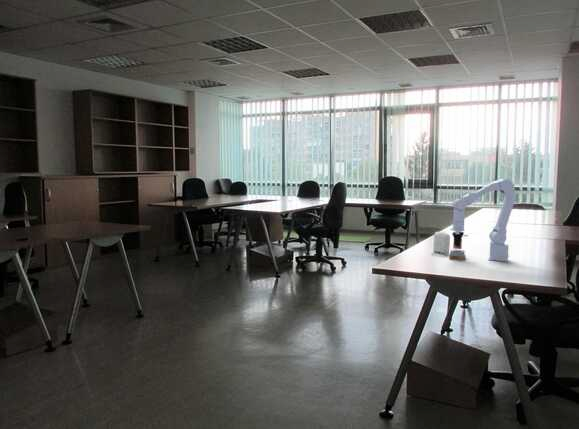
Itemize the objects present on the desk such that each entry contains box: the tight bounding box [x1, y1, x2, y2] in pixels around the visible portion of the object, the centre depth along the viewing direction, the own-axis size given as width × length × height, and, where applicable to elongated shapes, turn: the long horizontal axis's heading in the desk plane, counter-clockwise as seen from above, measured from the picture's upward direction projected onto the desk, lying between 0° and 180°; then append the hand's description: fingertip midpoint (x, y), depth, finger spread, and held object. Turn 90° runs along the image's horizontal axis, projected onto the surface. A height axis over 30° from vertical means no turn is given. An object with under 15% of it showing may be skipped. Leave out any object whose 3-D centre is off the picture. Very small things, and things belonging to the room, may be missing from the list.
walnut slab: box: [448, 254, 467, 261], centre depth 264 cm, size 8×8×2 cm
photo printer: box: [433, 231, 451, 255], centre depth 282 cm, size 10×4×12 cm, turn 28°
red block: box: [452, 239, 463, 250], centre depth 264 cm, size 4×4×5 cm
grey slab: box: [449, 248, 466, 257], centre depth 264 cm, size 7×7×2 cm
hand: (457, 245), depth 264 cm, fingers closed on red block, 4 cm apart
